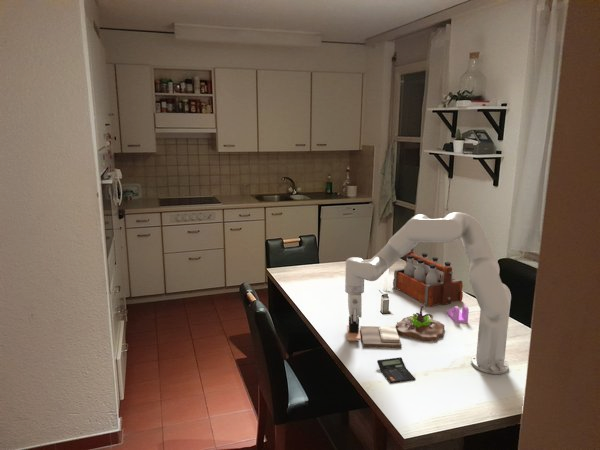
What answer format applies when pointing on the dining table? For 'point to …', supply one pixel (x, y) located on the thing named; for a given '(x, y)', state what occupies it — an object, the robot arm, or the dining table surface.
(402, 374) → the calculator
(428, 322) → the plant
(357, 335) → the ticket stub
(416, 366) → the dining table surface
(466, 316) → the bracket
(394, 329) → the board
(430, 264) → the milk bottle holder
